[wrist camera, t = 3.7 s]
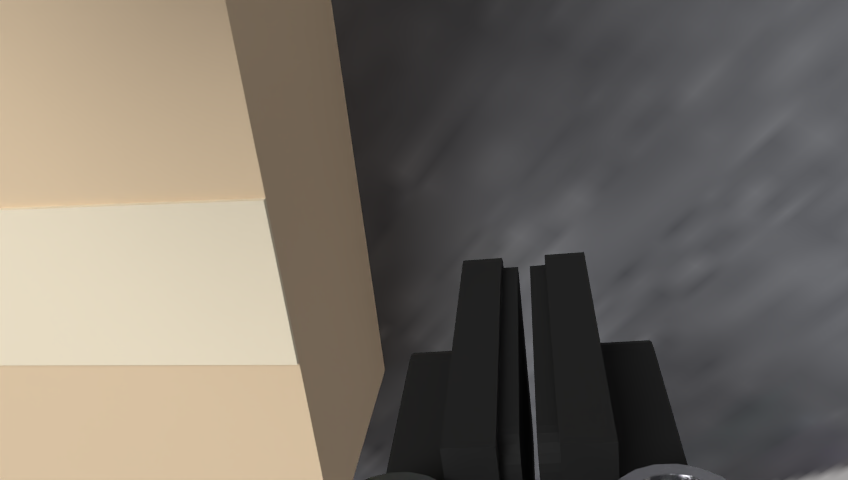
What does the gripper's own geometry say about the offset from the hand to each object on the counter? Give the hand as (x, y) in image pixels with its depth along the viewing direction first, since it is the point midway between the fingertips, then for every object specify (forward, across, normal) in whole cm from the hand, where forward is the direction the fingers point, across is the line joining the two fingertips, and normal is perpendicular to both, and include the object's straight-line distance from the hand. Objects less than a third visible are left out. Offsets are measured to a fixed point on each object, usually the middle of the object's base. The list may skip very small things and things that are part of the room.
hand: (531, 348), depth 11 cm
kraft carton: (+8, +9, -1) cm, 12 cm away
